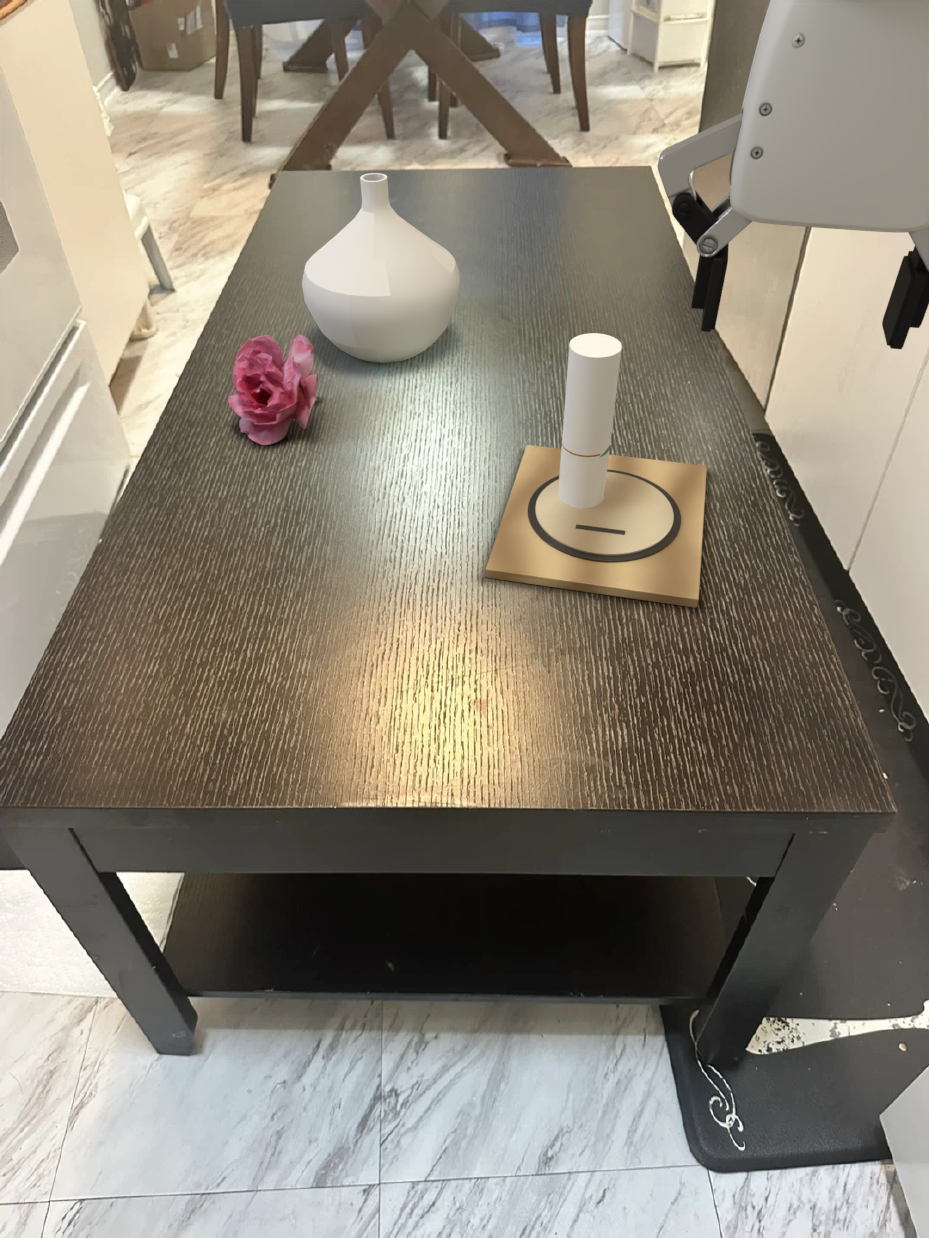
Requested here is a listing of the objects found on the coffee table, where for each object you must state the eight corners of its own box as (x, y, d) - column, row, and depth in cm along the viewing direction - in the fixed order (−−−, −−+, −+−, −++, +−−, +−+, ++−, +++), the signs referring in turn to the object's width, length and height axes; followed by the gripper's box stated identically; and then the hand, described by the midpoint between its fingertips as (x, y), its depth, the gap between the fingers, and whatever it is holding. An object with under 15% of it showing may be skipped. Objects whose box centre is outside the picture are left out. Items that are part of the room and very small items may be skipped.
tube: (573, 513, 81) (587, 362, 71) (549, 489, 84) (559, 340, 73) (612, 500, 82) (632, 350, 72) (587, 477, 85) (602, 329, 75)
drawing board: (705, 474, 88) (708, 461, 87) (696, 608, 74) (699, 595, 73) (526, 452, 91) (526, 440, 90) (485, 577, 77) (485, 564, 76)
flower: (275, 479, 93) (202, 414, 88) (272, 436, 101) (205, 373, 95) (356, 412, 91) (287, 339, 85) (347, 373, 98) (283, 304, 92)
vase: (491, 346, 108) (494, 178, 95) (371, 398, 99) (355, 221, 86) (398, 299, 118) (388, 141, 105) (281, 342, 109) (254, 176, 96)
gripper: (1106, -73, 38) (955, 314, 49) (692, -79, 41) (643, 287, 52) (1164, -48, 32) (980, 379, 44) (683, -56, 35) (632, 345, 47)
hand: (797, 329), depth 48 cm, fingers open, 9 cm apart
